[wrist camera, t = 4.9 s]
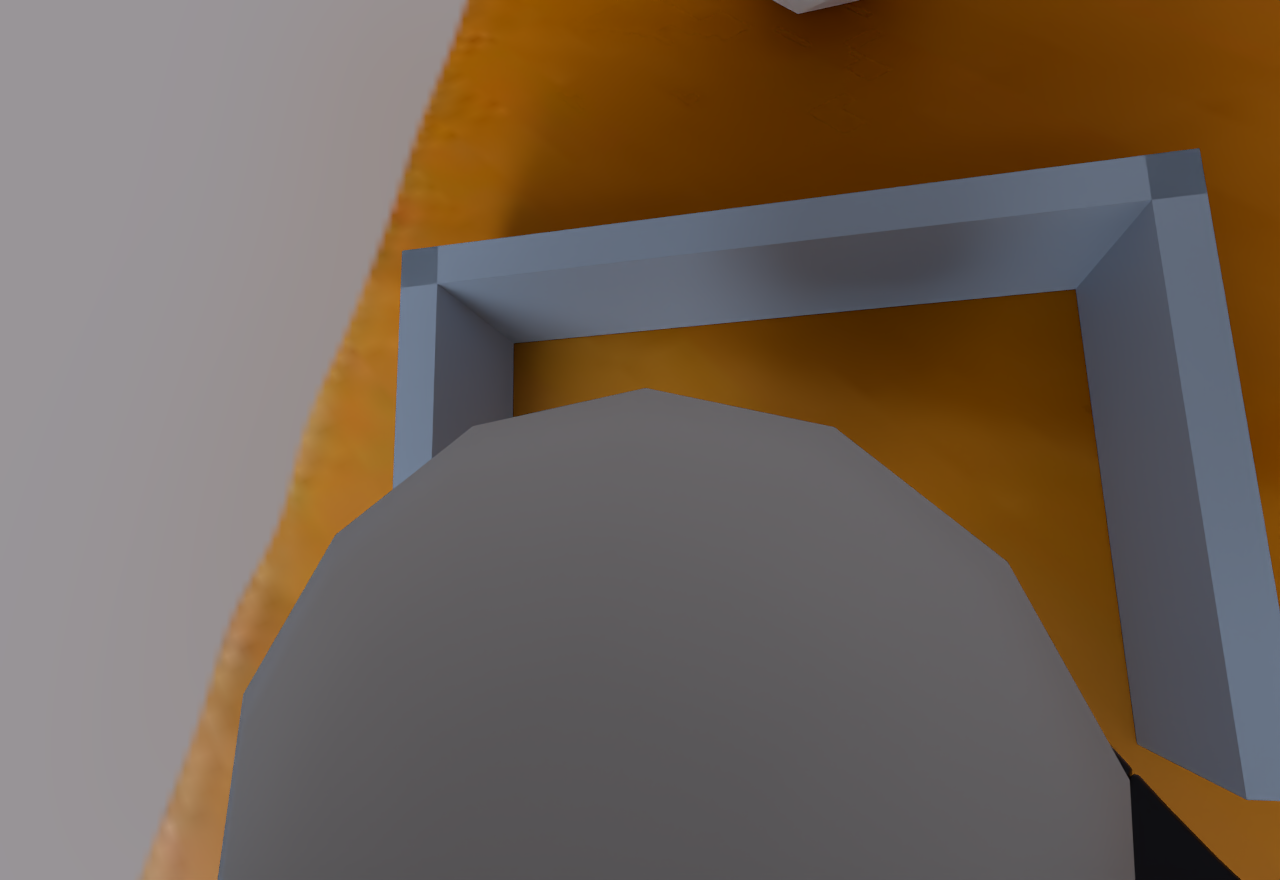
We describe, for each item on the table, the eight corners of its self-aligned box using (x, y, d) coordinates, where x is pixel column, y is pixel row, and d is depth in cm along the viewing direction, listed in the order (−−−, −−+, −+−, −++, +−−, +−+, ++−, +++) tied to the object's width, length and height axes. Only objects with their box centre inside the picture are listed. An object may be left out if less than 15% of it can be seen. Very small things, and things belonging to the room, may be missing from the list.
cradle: (1184, 745, 18) (1312, 801, 13) (477, 730, 22) (381, 770, 17) (1111, 249, 21) (1199, 148, 16) (484, 315, 25) (402, 250, 20)
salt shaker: (807, 454, 16) (753, -75, 4) (1004, 696, 14) (2236, 1314, 2) (582, 623, 16) (-183, 677, 4) (748, 879, 15) (323, 2449, 2)
